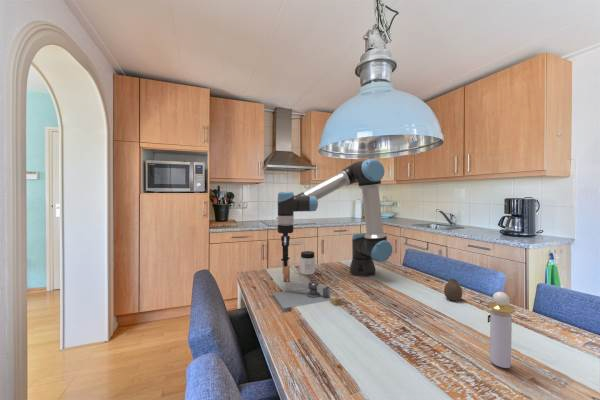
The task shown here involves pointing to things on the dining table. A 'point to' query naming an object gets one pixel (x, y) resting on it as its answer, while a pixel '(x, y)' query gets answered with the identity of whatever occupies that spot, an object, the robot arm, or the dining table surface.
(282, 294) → the base
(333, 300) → the block
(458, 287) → the brown egg shape
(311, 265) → the jar
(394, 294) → the dining table surface
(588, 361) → the dining table surface
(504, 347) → the perfume bottle
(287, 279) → the lever
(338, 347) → the dining table surface
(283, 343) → the dining table surface
